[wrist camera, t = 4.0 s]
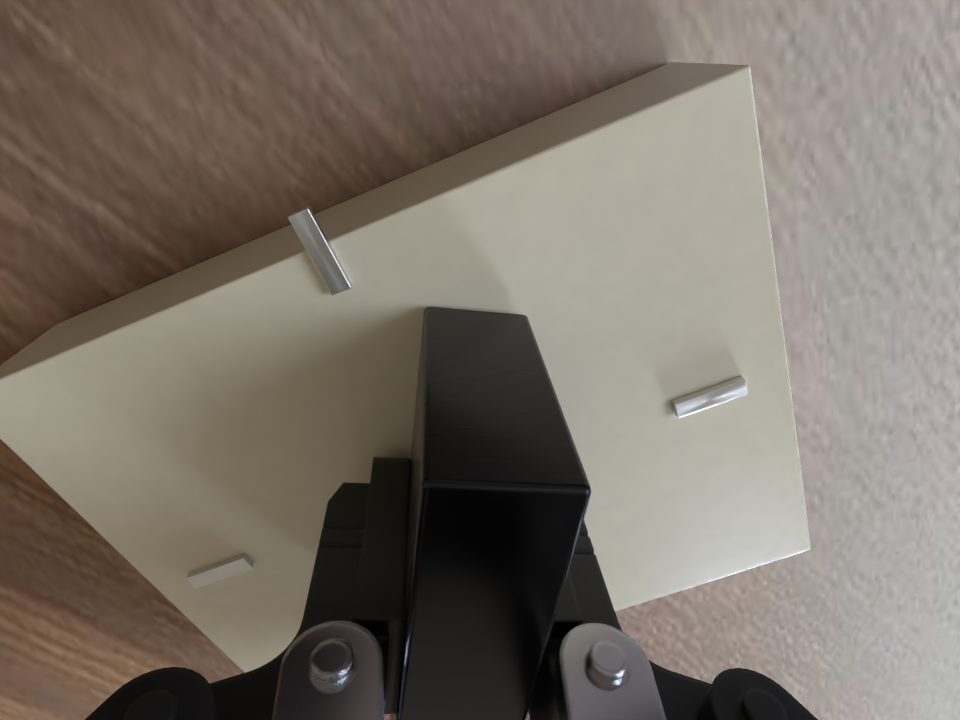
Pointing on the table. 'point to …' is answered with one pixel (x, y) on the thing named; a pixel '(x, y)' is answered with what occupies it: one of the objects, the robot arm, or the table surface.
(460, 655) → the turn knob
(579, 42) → the table surface
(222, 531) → the beige base plate
